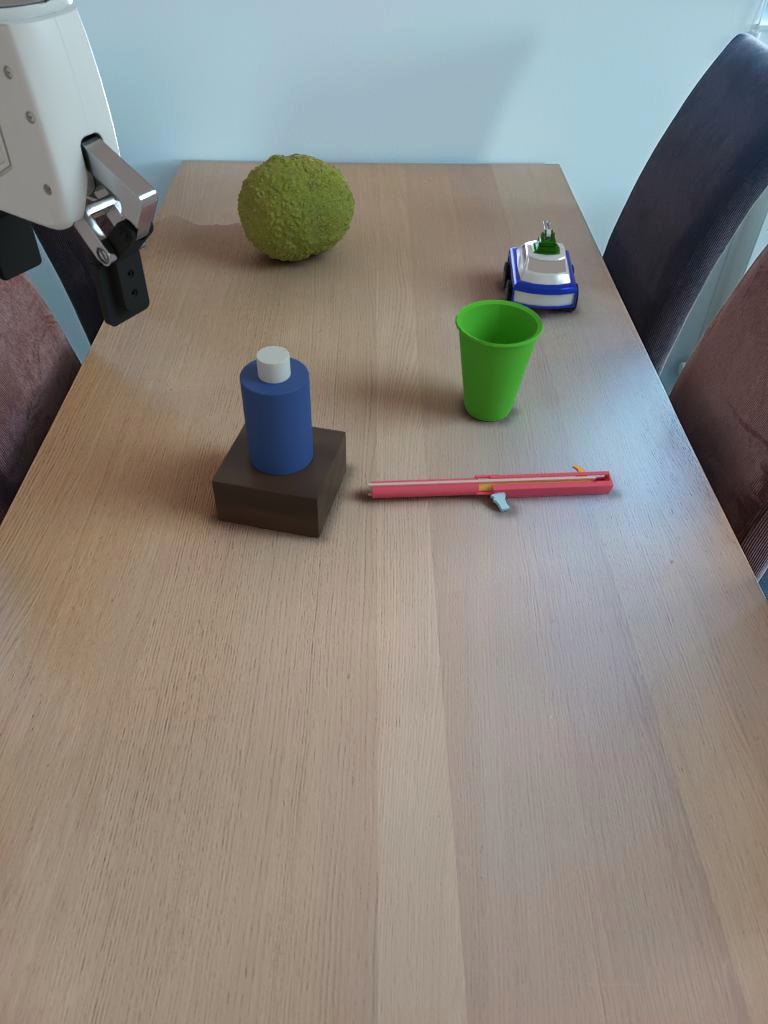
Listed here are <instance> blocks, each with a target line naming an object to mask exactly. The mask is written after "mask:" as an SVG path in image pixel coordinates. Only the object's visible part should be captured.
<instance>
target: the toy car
mask: <svg viewBox="0 0 768 1024" xmlns="http://www.w3.org/2000/svg"><path fill="white" fill-rule="evenodd" d="M542 226H543V231H541V233H540V235H539V236H537V240H530V241H527V242H524V243H523V244H521V245H520V246H515V247H511V248H509V250H508V253H507V259H506V261H505V262H504V265H503V271H502V287H503V288H502V289H504V301H511V302H515V303H518V304H521V305H523V306H526V307H528V308H530V309H531V308H532V309H543V310H545V309H547V310H549V309H552V310H553V309H554V310H555V309H556V311H568V312H573V311H575V310H576V309H577V306H578V302H579V293H580V292H579V291H580V290H579V289H580V288H579V284H578V283H577V281H576V277H575V267H574V264H572V259H571V256H570V251H569V250H567V249H566V248H565V246H564V244H563V243H561V242H557V240H556V232H554V229H553V228H551V220H547V221H546V220H543V221H542Z"/></svg>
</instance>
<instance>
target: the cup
mask: <svg viewBox="0 0 768 1024" xmlns="http://www.w3.org/2000/svg"><path fill="white" fill-rule="evenodd" d="M454 324H455V327H456V330H458V338H459V352H460V363H461V376H462V377H461V379H462V390H463V401H464V402H463V403H464V406H465V409H466V412H467V413H468V414H469V415H470V416H471V417H473V418H474V419H476V420H479V421H482V422H483V421H484V422H496V421H501V420H503V419H504V418H506V417H507V416H509V414H510V413H511V411H512V409H513V406H514V403H515V400H516V397H517V394H518V391H519V390H520V387H521V383H522V381H523V379H524V375H525V373H526V371H527V367H528V365H529V362H530V358H531V355H532V353H533V350H534V347H535V344H536V342H537V340H538V338H540V337H541V336H542V334H543V331H544V323H543V321H542V318H541V316H540V315H539V314H538V313H537V312H536V311H535V310H534V309H531V307H526V306H523V305H521V304H518V303H515V302H511V301H505V299H484V300H479V301H474V302H471V303H469V304H467V305H465V306H464V307H462V308H461V309H460V310H459V311H458V313H457V315H456V316H455V320H454Z"/></svg>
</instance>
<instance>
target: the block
mask: <svg viewBox="0 0 768 1024" xmlns="http://www.w3.org/2000/svg"><path fill="white" fill-rule="evenodd" d="M346 434H347V433H346V431H344V430H338V429H331V428H325V427H320V426H319V427H318V426H313V425H312V436H313V458H312V460H311V462H310V463H309V464H308V465H307V466H306V467H305V468H304V469H302V470H300V471H298V472H296V473H293V474H288V475H270V474H266V473H263V472H261V471H259V470H258V469H256V468H255V467H254V466H253V465H252V463H251V461H250V458H249V451H248V443H247V434H246V426H245V423H244V424H243V426H242V428H241V429H240V431H239V433H238V435H237V436H236V438H235V439H234V442H233V443H232V445H231V446H230V448H229V450H228V451H227V453H226V455H225V457H224V459H223V460H222V461H221V463H220V465H219V467H218V469H217V470H216V472H215V473H214V476H213V477H212V479H211V487H212V492H213V498H214V503H215V510H216V516H217V520H218V521H223V522H228V523H234V524H239V525H240V524H241V525H244V526H251V527H257V528H260V529H261V528H262V529H268V530H272V531H273V530H274V531H278V532H283V533H290V534H295V535H300V536H301V535H302V536H306V537H310V538H311V537H313V538H317V539H320V537H321V535H322V532H323V530H324V527H325V525H326V521H327V519H328V516H329V515H330V512H331V509H332V506H333V505H334V502H335V499H336V497H337V494H338V492H339V489H340V487H341V485H342V482H343V480H344V477H345V474H346V472H347V435H346Z"/></svg>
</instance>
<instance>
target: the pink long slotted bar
mask: <svg viewBox="0 0 768 1024" xmlns="http://www.w3.org/2000/svg"><path fill="white" fill-rule="evenodd" d="M571 468H572V469H574V470H575V471H573V472H572V471H571V472H546V473H545V472H544V473H520V474H519V473H518V474H482V475H481V474H477V475H476V474H475V475H474V477H463V478H462V477H461V478H435V479H434V478H433V479H432V478H431V479H429V478H428V479H406V480H405V479H403V480H399V479H398V480H373V481H371V483H369V482H368V483H367V484H368V486H367V487H368V488H370V490H371V492H368V493H367V497H371V499H391V498H416V497H417V498H419V497H421V498H423V497H443V496H444V497H447V496H448V497H449V496H489V498H490V499H492V503H494V504H496V505H497V507H498V509H499V511H500V512H508V511H509V510H510V508H511V507H510V505H509V504H508V503H507V501H506V499H508V498H531V497H532V498H534V497H535V498H536V497H559V496H560V497H563V496H585V495H586V496H588V495H609V494H610V492H611V491H612V490H613V487H614V481H613V479H612V477H611V473H610V471H609V470H601V471H586V470H585V469H584V468H583V467H582V466H580V465H577V464H573V465H572V467H571Z"/></svg>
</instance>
